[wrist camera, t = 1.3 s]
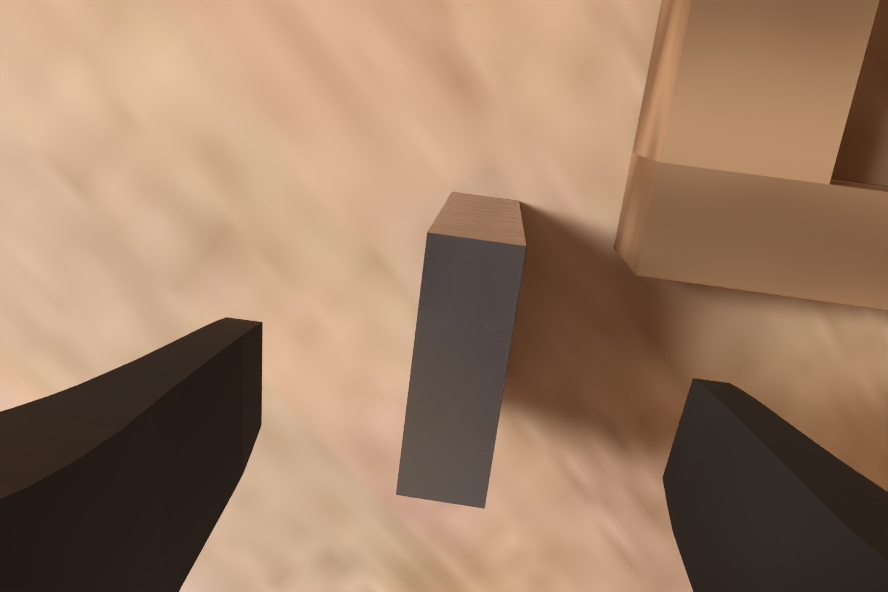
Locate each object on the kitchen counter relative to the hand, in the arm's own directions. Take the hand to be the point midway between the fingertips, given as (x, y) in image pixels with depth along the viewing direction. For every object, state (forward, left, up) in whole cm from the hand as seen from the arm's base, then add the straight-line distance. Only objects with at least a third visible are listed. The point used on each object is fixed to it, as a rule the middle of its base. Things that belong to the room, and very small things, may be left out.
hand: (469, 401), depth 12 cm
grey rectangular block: (-1, 0, -10) cm, 10 cm away
